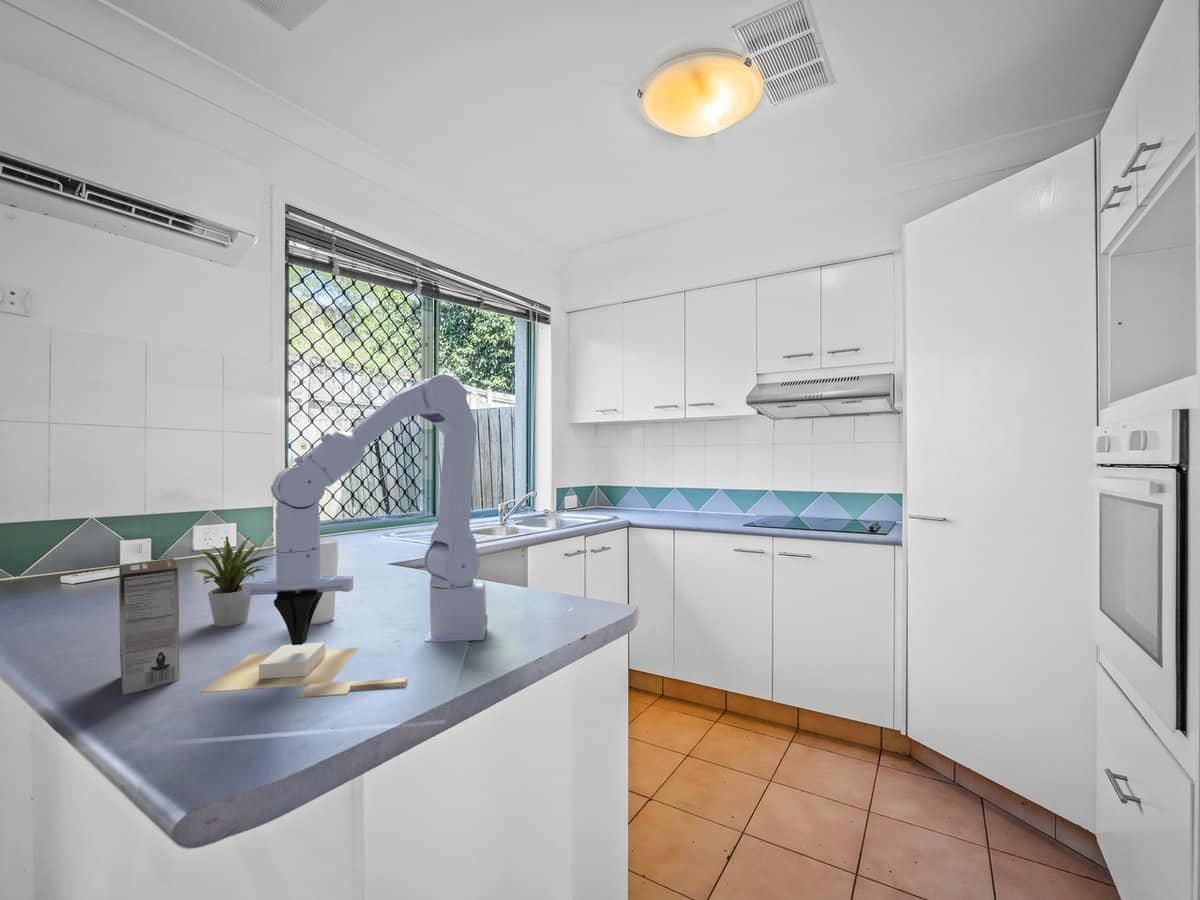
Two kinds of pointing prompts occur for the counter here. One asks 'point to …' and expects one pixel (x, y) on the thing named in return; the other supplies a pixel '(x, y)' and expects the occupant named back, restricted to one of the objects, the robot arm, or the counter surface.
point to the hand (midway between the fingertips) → (299, 642)
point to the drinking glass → (328, 568)
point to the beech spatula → (350, 687)
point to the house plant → (230, 584)
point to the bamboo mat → (248, 678)
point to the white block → (292, 661)
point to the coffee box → (149, 624)
